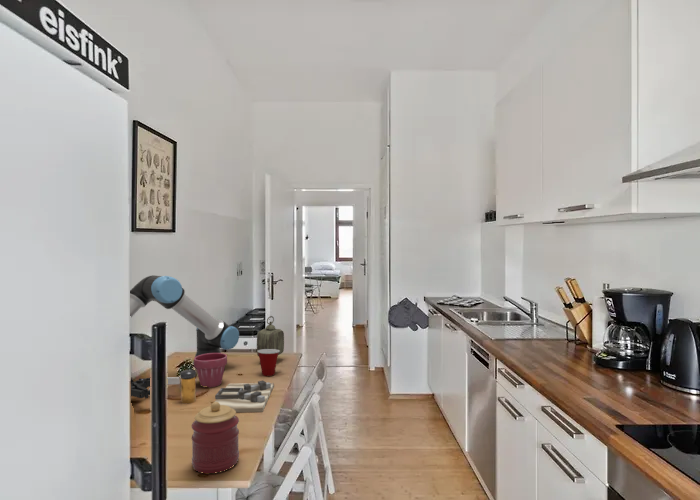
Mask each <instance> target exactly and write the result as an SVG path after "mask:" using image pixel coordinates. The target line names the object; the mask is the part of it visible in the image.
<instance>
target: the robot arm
mask: <svg viewBox="0 0 700 500" xmlns="http://www.w3.org/2000/svg"><path fill="white" fill-rule="evenodd" d="M150 302H156V303H158V304H159V305H160V306H162V307H163V308H165V310H170V309H172V310H173V311H174V312H175V313H177V314H178V315H180V316H181V317H182V318H184V319H185V320H186V321H188V322H189V323H190V324H192V325H193V326H194V327H195V328H196V330H195V331H196V352H195V356H194V358H195V357H196V356H199V355H202V354H207V353H222V352H221V350H220V349H222V350H231V349H233V348H234V347H236V346H237V344H238V343H239V340H240V332H239V330H238V328H237V327H235V326H233V325H229V324H227V322H225V320H222V319H220V318H219V319H216V318H215V317H214V316H213V315H211V313H209V312H208V311H207V310H206V309H204V308H203V307H202V306H200V305H199V304H197V303H196V302H195V301H194V300H193V299H191V298H190V297H189V296H188V295H187V294H186V290H185V288H183V286H182V284H181V282H180V281H179V280H178V279H177V278H175V277H172V276H169V275H148V276H146V277H143V278H142V279H141V280H140V281H139V282H137V284H135V285H134V286H133V287H132V288H131V289H130V316H131V319H132V318H133V317H134V316H135V314H136V313H138V311H140V309H141V308H145V307H146V306H147V305H148V304H149V303H150ZM192 363H193V364H194V360H193V361H192ZM193 364H192V365H193ZM150 378H151V377H147V378H146V377H145V378H143V377H142V378H141V377H140V378H138V379H137V380H135V381H134V380H133V378H132V377H131V396H130V397H134V398H139V399H149V396H150V388H151V386H150ZM167 379H168V384H167V385H181V376H177V377H172V376H171V377H169V376H168V377H167ZM150 397H151V396H150Z"/></svg>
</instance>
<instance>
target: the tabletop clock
mask: <svg viewBox="0 0 700 500" xmlns="http://www.w3.org/2000/svg"><path fill="white" fill-rule="evenodd" d="M271 318H272V321H269V319H271ZM274 322H275V318H274V316H272V315H270V316H268V317H267V319H266V323H267V324H268V325H266V327H265V328H264V329H261V330H259V331H258V332H257V335H256V352H257V351H258V350H262V349H276V350H279V351H280V352H279V354H278V356H279V355H281V354H283V353H284V350H285V333H284V331H283V330H282V329H281V328H276V327H275V325H273V323H274ZM256 354H257V357H258V358H259V354H258V352H257V353H256Z"/></svg>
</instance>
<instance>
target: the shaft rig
mask: <svg viewBox="0 0 700 500" xmlns="http://www.w3.org/2000/svg"><path fill="white" fill-rule="evenodd" d="M274 387H275V383H274V382H267V381H265V380H264V379H263V380H258V381H257V382H253V383H252V382H251V383H249V382H247V383H245V382H244V383H242V382H241V383H228V384H227V385H226V387H221V388H219V390H218V391H217V393H216V394H215V395H214V396H215V398H214V399H215V401H214V402H219V404H220V405H226V406H229V407H230V408H232V409H234V410H235V411H236V414H237V413H263V412H264V410H265V407H266V405H267V403H268V400H269V399H270V396H271V393H272V391H273V389H274Z"/></svg>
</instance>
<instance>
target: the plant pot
mask: <svg viewBox="0 0 700 500" xmlns="http://www.w3.org/2000/svg"><path fill="white" fill-rule="evenodd" d="M193 361H194V366H193V367H194V368H196V374H197V377H198V380H199V385H200V386H201V385H202V386H207V387H209V389H210V388H215V387H218V386H221V384H222V382H223V378H224V373H225V366H226V365H227V364H228V355H227V354H226V353H223V352H221V353H207V354H202V355H199V356H196V357H195V356H194V358H193Z"/></svg>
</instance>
